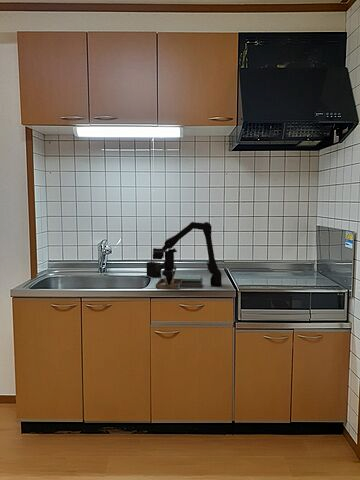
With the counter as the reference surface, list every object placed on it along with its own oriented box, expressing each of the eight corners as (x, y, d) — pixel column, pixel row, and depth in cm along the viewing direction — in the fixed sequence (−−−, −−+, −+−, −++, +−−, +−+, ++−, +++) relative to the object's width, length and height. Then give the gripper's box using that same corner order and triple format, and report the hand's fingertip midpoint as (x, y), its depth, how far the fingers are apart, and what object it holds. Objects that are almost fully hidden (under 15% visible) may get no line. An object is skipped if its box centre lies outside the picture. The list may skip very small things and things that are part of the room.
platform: (201, 278, 273) (201, 275, 272) (199, 282, 261) (199, 279, 261) (177, 277, 275) (177, 274, 275) (175, 281, 263) (175, 278, 263)
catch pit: (202, 284, 254) (202, 280, 254) (201, 287, 246) (201, 283, 245) (181, 284, 256) (181, 280, 255) (179, 287, 247) (179, 283, 247)
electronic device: (156, 278, 274) (156, 263, 273) (146, 276, 281) (146, 262, 279) (161, 277, 277) (161, 262, 276) (150, 275, 284) (150, 261, 283)
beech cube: (174, 284, 255) (174, 276, 254) (173, 286, 250) (172, 278, 249) (166, 284, 255) (166, 276, 255) (165, 286, 250) (164, 278, 250)
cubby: (181, 282, 260) (181, 278, 260) (177, 289, 243) (177, 285, 243) (160, 282, 262) (160, 278, 262) (155, 288, 245) (155, 284, 244)
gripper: (159, 256, 261) (159, 280, 263) (153, 261, 242) (154, 287, 244) (176, 256, 259) (176, 280, 261) (172, 261, 241) (172, 287, 243)
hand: (169, 283), depth 252 cm, fingers closed on beech cube, 5 cm apart
